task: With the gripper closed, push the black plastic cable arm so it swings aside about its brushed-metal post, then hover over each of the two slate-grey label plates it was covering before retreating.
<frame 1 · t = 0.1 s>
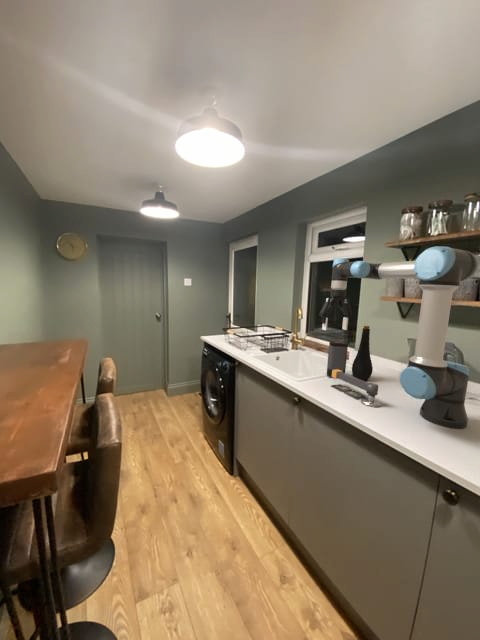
hand: (334, 329, 144), 28 cm above the countertop, fingers open, 13 cm apart
electronic device: (335, 377, 155), on the countertop
pivot post: (370, 403, 120), on the countertop
cable arm: (353, 381, 128), point 6 cm above the countertop, hinge at 0.0°
bottle: (360, 379, 153), on the countertop
psu label a: (354, 395, 128), on the countertop
psu label b: (340, 388, 136), on the countertop
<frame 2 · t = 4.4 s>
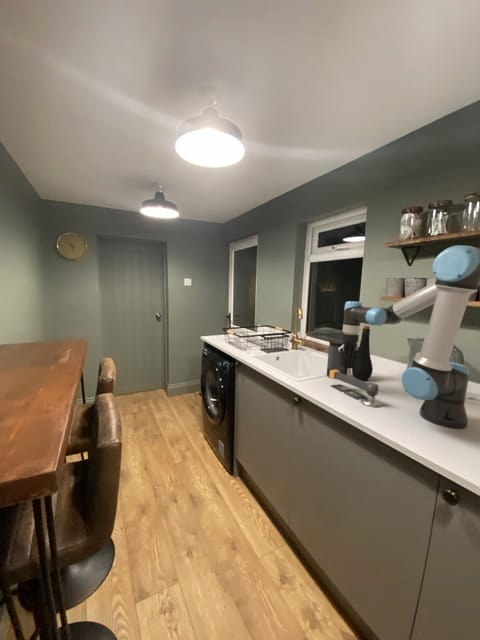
hand: (346, 380, 135), 5 cm above the countertop, fingers closed
cable arm: (352, 381, 128), point 6 cm above the countertop, hinge at 4.5°, touching gripper
everything else where it was.
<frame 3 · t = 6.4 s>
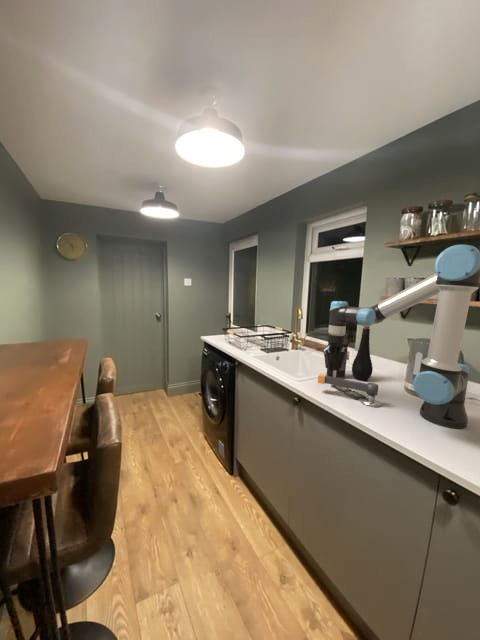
hand: (332, 383, 130), 4 cm above the countertop, fingers closed
cable arm: (347, 383, 124), point 6 cm above the countertop, hinge at 36.8°, touching gripper
everything else where it was.
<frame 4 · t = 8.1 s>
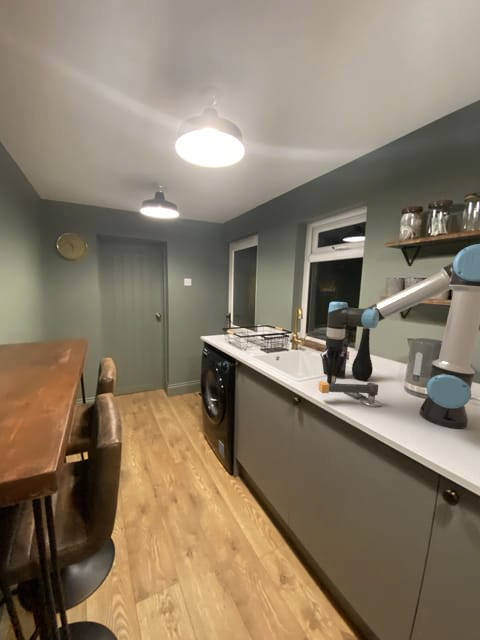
hand: (330, 389, 121), 4 cm above the countertop, fingers closed
cable arm: (349, 388, 118), point 7 cm above the countertop, hinge at 69.7°, touching gripper
everything else where it was.
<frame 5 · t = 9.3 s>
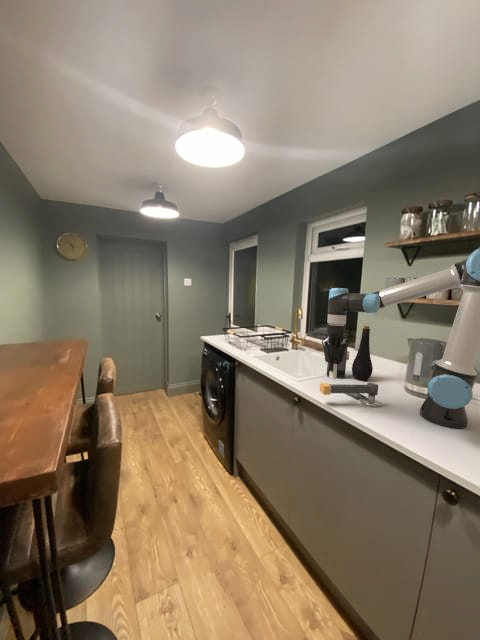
hand: (332, 378, 119), 10 cm above the countertop, fingers closed
cable arm: (349, 388, 118), point 6 cm above the countertop, hinge at 73.8°
everything else where it was.
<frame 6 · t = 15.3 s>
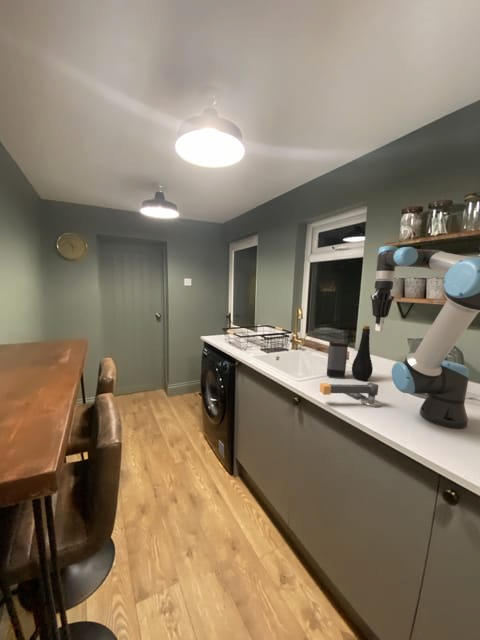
hand: (378, 330, 130), 30 cm above the countertop, fingers closed
nothing on the countertop moved.
at the end: cable arm at +74° (first picture: +0°) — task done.
